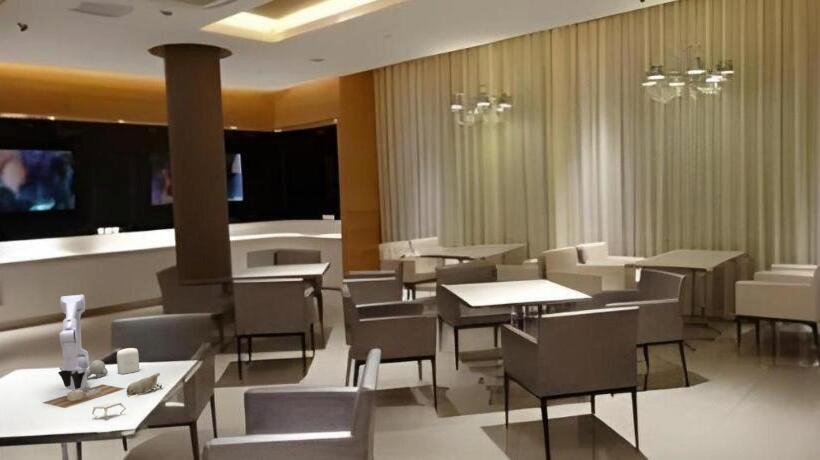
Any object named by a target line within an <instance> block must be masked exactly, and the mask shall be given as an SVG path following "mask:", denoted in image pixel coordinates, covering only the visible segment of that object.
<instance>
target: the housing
mask: <svg viewBox="0 0 820 460" xmlns="http://www.w3.org/2000/svg"><path fill="white" fill-rule="evenodd" d="M90 388H91V386H90V385H88V386H85V387H82V388H78V389H72V391H74V390H83V389H84V390H85V391H86V392H83V398H86V399H87V398H90V397H93V396H97V395H100V394H101V389H100V388H95V389H92V390H91V389H90Z"/></svg>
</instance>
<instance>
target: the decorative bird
mask: <svg viewBox="0 0 820 460" xmlns="http://www.w3.org/2000/svg"><path fill="white" fill-rule="evenodd" d="M160 376H161V373H160V372H158V373H154V374H153V375H151V376H148V377H145V378H141V379H139V380H137V381H134V382H131V383H130V384H129V385H128V386H126V387H127V388H126V395H127V397H128V398H130V397H131V396H132V395H133V394H135V393H136V394H140V395H141V394H145V393H146V392H149V391H151V390H153V389H154V388H155V387H158V388H159V389H161V390H162V387H163V385H162V383H161V384H160V385H159V383H158V377H160Z"/></svg>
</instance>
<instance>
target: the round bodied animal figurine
mask: <svg viewBox="0 0 820 460" xmlns="http://www.w3.org/2000/svg"><path fill="white" fill-rule="evenodd" d="M107 374H109V371H108V369H107V368H106V365H105V362H104V361H102V360H101V359H95V360H92V361H91V363H89V367H88V368H87V380H88V379H89V377H91V376H92V375H95V377H96V379H100V378H101V377H103V376H106V375H107Z"/></svg>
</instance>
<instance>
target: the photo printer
mask: <svg viewBox="0 0 820 460" xmlns="http://www.w3.org/2000/svg"><path fill="white" fill-rule="evenodd" d="M139 356H140V355H139V351H138V349H137V348H135V347H128V348H127V347H126V348H123V349H120V350H118V351H117V353H116V365H117V375H125V374H130V373H131V374H132V373H137V372H140V359H139V358H140V357H139Z"/></svg>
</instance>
